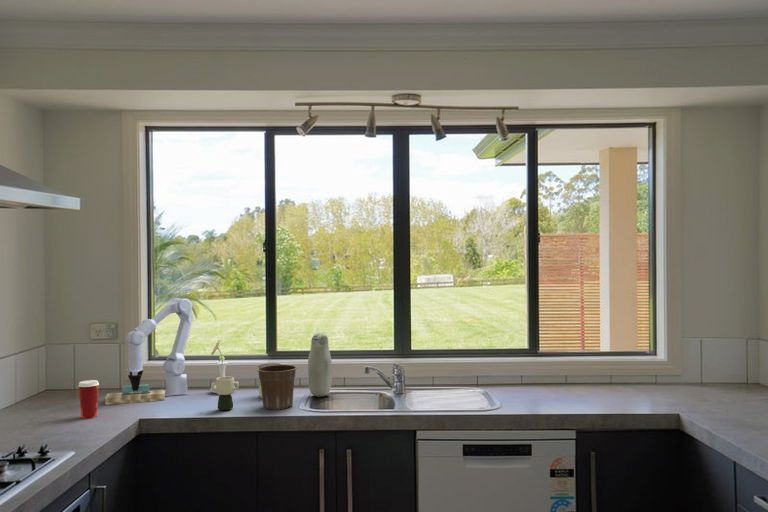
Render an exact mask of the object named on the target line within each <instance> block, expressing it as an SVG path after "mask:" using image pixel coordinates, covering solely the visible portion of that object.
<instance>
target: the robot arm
mask: <svg viewBox="0 0 768 512" xmlns="http://www.w3.org/2000/svg"><path fill="white" fill-rule="evenodd" d="M193 306H194V304H193V303H192V302H191V301H190V299H188V298H178V297H174V298H172V299H171V300H170V301H168V302H167V303H166V305H164V306H163V307H162V308H161V309H160V310H159V311H158V312H157V313H156V314H155V315H154V316H152V317H151V319H150V318H146V319H143V320H142V323H141V324H139V325H138V326H137V327H135V328H134V330H132V331H131V330H130V332H128V333H127V335H126V337H125V340H126V342H127V344H128V368H126V369H125V371H128V372H129V374H128V375H127V378H128V379H129V382H130V385H132V390H133V391H138V388H139V385H141V379H142V377H143V373H144V366H143V363H144V362H143V343H144V342H145V340H146V338H147V337H148V336H149V335H150V334H151V333H153V332H154V331H155V330H156V329H157V325H158V324H159V323H160V322H162V321H163V320H165V318H166V317H169V315H172V314H176V315H177V316H178V317H179V320H180V321H179V325H178V328H177V331H176V333H175V334H176V335H175V339H174V343H173V345H172V349H171V352H170V353H169V354H168V356H167V358H166V359H165V361H164V363H163V364H162V368H163V371H164V372H165V397H169V396H171V397H172V396H182V395H183V396H184V395H188V393H187V391H188V384H187V383H188V381H187V380H188V379H187V375H188V374H187V373H184V371H185V367H186V366H185V360H186V359H185V356H184V353H185V350H186V346H187V344H188V343H187V342H188V339H189V336H190V331H191V327H192V325H193V323H194V322H193V321H194V313H193Z"/></svg>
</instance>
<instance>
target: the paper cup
mask: <svg viewBox="0 0 768 512" xmlns="http://www.w3.org/2000/svg"><path fill="white" fill-rule="evenodd" d="M99 385H100V383H99V381H98V380H97V379H96V380H95V379H89V380H82V381H79V383H78V385H77V387H78V391H79V392H78V393H79V406H80V417H81V419H82V420H90V419H94V418H97V417H98V404H99V403H98V402H99V401H98V400H99Z"/></svg>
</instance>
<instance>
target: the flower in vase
mask: <svg viewBox="0 0 768 512" xmlns="http://www.w3.org/2000/svg"><path fill="white" fill-rule="evenodd" d="M220 343H221V339H218V340H217V342H216V344H215V346H214V348H213V349H212V351H211V356H213V355H214V354H215V353H216V351H217V350H218V352H219V353H220V355H219V360H218V362H216V364H217V366H218V368H219V377H226V367H227V365H228V363H229V362H228V361H224V360H225V359H226V357H224V355H223V354H222V352H221V349H220V347H219V345H220ZM234 388H236V385H234ZM214 389H216V385H214ZM209 391H210V392H212V393H214V394H217V392H216V391H212V390H211V387H210V389H209Z"/></svg>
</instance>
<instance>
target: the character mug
mask: <svg viewBox="0 0 768 512" xmlns="http://www.w3.org/2000/svg"><path fill="white" fill-rule="evenodd" d="M239 383H240V382H239V381H235V378H234V377H233V376H225V377H220V376H219V377H217V378H216V379H215V382H212V383H211V387H210V388H211V390H212V391H216V392H217V393H216V394H217V395H219V396H218V398H217V399H218V400H217V409H218V410H221V411H228V410H230V409H233V408H234V402H233V395H232V394H234V392H235V391H237V390H239V387H240V385H239ZM214 385H216V389H214ZM234 386H235V388H234Z"/></svg>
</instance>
